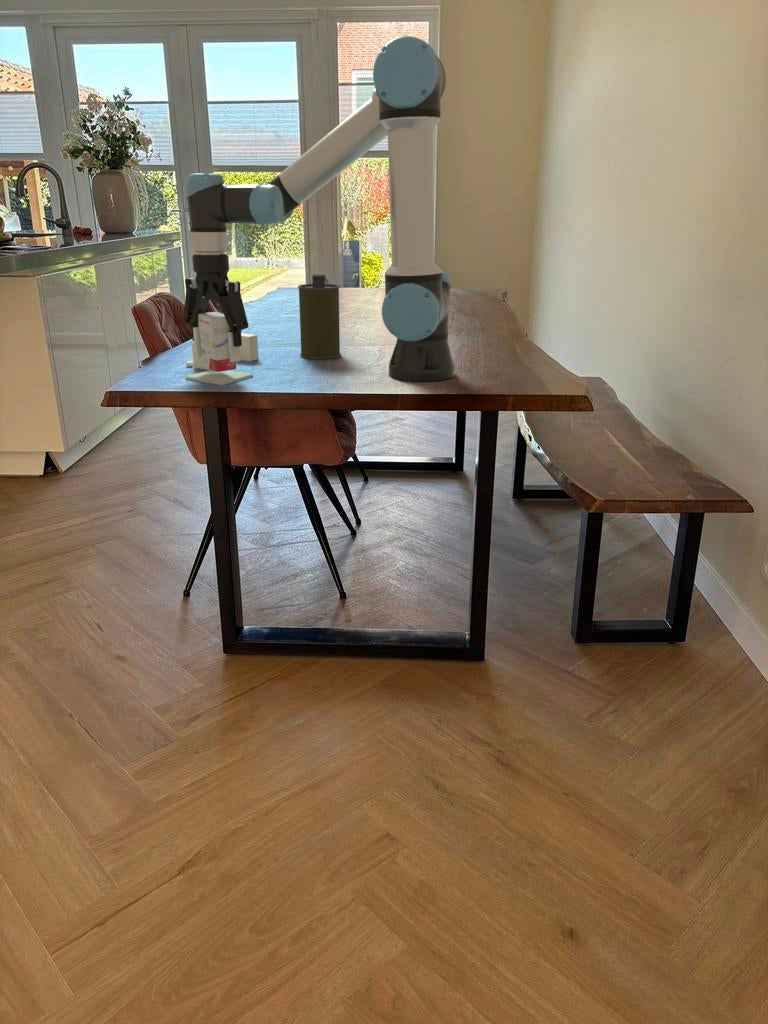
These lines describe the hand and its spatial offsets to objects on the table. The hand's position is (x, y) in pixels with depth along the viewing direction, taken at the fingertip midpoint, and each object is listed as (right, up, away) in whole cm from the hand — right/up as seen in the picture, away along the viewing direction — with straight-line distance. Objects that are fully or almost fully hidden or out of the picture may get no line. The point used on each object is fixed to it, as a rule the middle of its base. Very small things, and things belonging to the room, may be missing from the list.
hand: (217, 358), depth 170 cm
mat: (0, -4, +2) cm, 4 cm away
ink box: (0, -2, +1) cm, 2 cm away
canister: (+21, +6, +27) cm, 34 cm away
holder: (-2, +2, +17) cm, 17 cm away
